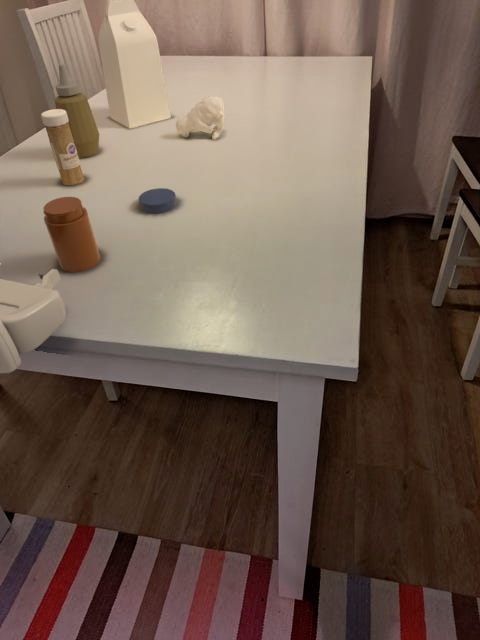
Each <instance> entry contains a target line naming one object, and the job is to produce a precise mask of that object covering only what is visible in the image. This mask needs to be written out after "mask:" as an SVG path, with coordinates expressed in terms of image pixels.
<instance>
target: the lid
mask: <svg viewBox="0 0 480 640" xmlns="http://www.w3.org/2000/svg"><path fill="white" fill-rule="evenodd" d="M138 203H139V207H140V210H141V211H143V212H144V213H146V214H153V215H155V214H156V215H157V214H158V215H159V214H165V213H167V212H169V211H172V210H174V209H175V208H176V207H177V203H178V202H177V196H176V192H175V191H174V190H172V189H170V188H163V187H161V188H160V187H157V188H152V189H149V190H146V191H144V192H142V193H140V194H139V197H138Z"/></svg>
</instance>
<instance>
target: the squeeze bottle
mask: <svg viewBox="0 0 480 640" xmlns="http://www.w3.org/2000/svg"><path fill="white" fill-rule="evenodd" d="M58 74H59V83H58V84H55V90H56V94H57V95H58V96H56V97H55V100H54V105H55V109H63V110H65V111H66V113H67V116H68V119H69V121H68V122H69V127H70V130H71V134H72V137H73V141H74V144H75V148H76V150H77V154H78V158H79V159H84V158H89V157H93V156H95V155H97V154H98V152H99V145H100V133H99V129H98V127H97V123H96V120H95V118H94V114H93V112H92V108H91V106H90V103H89V100H88V97H87V95H85V94H84V93H82V92H81V88H80V84H79V83H78V82H76V81H74V80H73V79H72V77H71V75H70V72H69V70H68V69H67V66H66V64H58Z"/></svg>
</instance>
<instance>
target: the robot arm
mask: <svg viewBox="0 0 480 640" xmlns="http://www.w3.org/2000/svg"><path fill="white" fill-rule="evenodd" d="M2 267H3V265H2V263H1V262H0V270H2ZM38 276H39V278H40V280H41V283H40V282H36V283H34V284H33V285H32V284H26V283H23V282H17V281H13V280H8V279H3V278H0V374H9V373H10V374H11V373H12V372H14V371H15V370H17V368H18V367H20V365H21V364H22V359H21V355H26V354H29V353H31V352H33V351H34V350H36V349H37V348H39V347H40V346H41V345H42V344H43V343H44V342H45V341H46V340H47V339H49V338H50V336H52V335H53V334H54V332H55V331H57V330H58V328H59V327H60V326H62V324H63V323H64V321H65V320H66V317H67V311H66V306H65V303H64V301H63V298H62V296H61V294H60V292H59V291H58V290H56V289H54V287H55V286H56V285H57V284H58V283H59V282H60V281H61V275H60V273H59V270H58V269H55V268H50V267H45V268H44V270H42V271H40V272H39V273H38Z"/></svg>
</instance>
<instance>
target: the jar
mask: <svg viewBox="0 0 480 640" xmlns="http://www.w3.org/2000/svg"><path fill="white" fill-rule="evenodd" d="M42 209H43V215H44V216H43V222H44V224H45V227H46V230H47V232H48V235H49V239H50V241H51V244H52V247H53V250H54V252H55V255H56V257H57V258H56V259H57V260H58V263H59V266H60V268H61V269H62V270H63V271H65V272H69V273H79V272H85V271H88V270H90V269H92V268H94V267H95V266H96V265H98V264H99V262H100V260H101V255H100V252H99V249H98V248H99V247H98V244H97V241H96V237H95V235H94V231H93V227H92V224H91V223H92V222H91V220H90V216H89V213H88V210H87V208H86V207H84V206H83V203H82V200H81V199H80V198H79V197H75V196H62V197H57V198H55V199H52V200H50V201H48V202H47V203H45V204H44V206H43V208H42Z"/></svg>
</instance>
